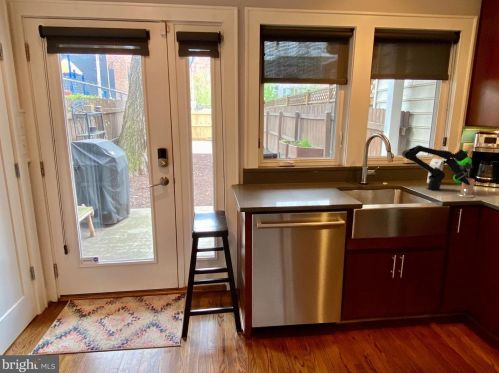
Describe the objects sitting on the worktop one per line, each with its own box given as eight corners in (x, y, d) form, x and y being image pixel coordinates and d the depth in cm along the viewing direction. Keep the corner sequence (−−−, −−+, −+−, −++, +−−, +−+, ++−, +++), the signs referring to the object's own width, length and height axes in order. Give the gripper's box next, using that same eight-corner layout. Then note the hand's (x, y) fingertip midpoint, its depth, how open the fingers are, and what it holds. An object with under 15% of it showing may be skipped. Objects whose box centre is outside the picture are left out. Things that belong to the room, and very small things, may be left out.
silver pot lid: (463, 197, 212) (464, 190, 211) (453, 193, 221) (454, 187, 220) (477, 197, 213) (478, 190, 212) (466, 193, 222) (468, 187, 221)
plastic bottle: (462, 181, 262) (467, 150, 256) (470, 184, 252) (476, 152, 246) (449, 181, 262) (454, 149, 256) (457, 184, 252) (462, 151, 246)
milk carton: (430, 181, 258) (434, 157, 254) (440, 183, 253) (444, 159, 248) (426, 183, 254) (430, 158, 249) (436, 184, 248) (440, 159, 244)
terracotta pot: (465, 194, 221) (467, 179, 219) (458, 191, 227) (461, 177, 225) (474, 194, 222) (476, 179, 219) (467, 191, 228) (469, 177, 225)
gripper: (463, 160, 215) (480, 179, 210) (467, 157, 228) (483, 175, 224) (447, 170, 221) (463, 189, 217) (452, 167, 235) (468, 184, 231)
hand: (470, 184), depth 222 cm, fingers closed on terracotta pot, 6 cm apart
